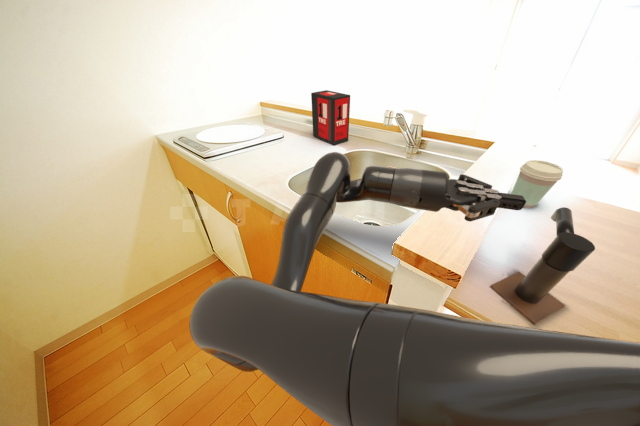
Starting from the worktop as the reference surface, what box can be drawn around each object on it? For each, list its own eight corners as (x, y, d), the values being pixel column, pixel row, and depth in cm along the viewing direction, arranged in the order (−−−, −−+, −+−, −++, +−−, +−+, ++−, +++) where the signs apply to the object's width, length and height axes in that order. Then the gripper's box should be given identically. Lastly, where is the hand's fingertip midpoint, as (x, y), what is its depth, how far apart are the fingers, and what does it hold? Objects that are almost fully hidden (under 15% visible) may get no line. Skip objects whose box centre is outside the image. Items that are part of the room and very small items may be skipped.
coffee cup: (546, 212, 62) (575, 173, 55) (515, 213, 63) (539, 174, 55) (525, 195, 69) (548, 158, 62) (496, 196, 69) (516, 159, 62)
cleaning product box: (348, 141, 110) (350, 95, 97) (333, 145, 105) (334, 98, 93) (326, 132, 120) (326, 90, 108) (313, 136, 116) (311, 92, 104)
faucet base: (560, 309, 41) (603, 273, 34) (531, 327, 38) (571, 291, 32) (515, 275, 47) (544, 239, 40) (487, 289, 44) (514, 252, 38)
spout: (575, 275, 34) (597, 255, 31) (541, 263, 36) (558, 243, 33) (570, 222, 43) (586, 203, 40) (543, 215, 45) (556, 196, 42)
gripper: (412, 188, 51) (502, 200, 46) (411, 225, 41) (524, 245, 36) (420, 156, 46) (520, 166, 42) (421, 189, 37) (552, 207, 32)
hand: (522, 203), depth 39 cm, fingers closed
